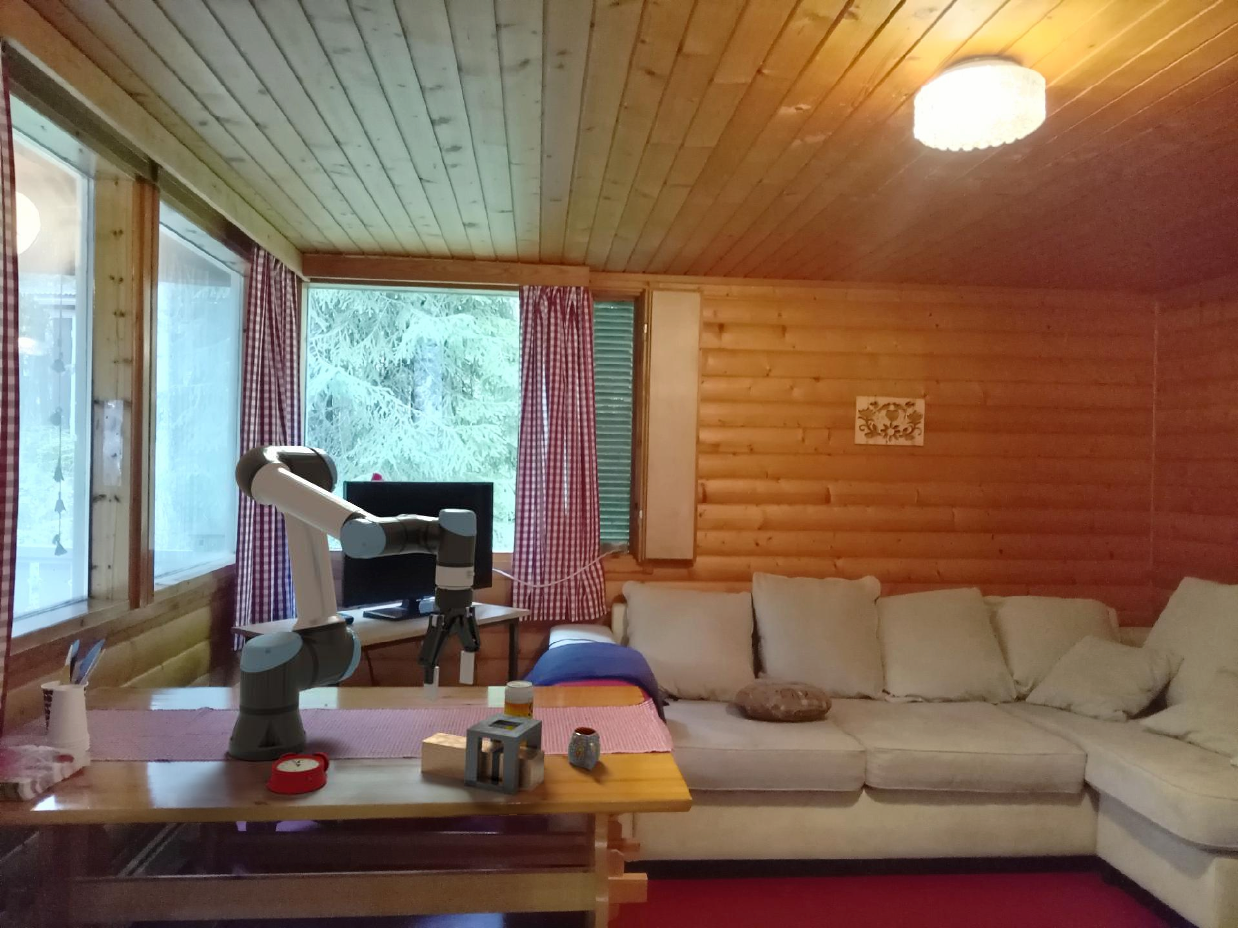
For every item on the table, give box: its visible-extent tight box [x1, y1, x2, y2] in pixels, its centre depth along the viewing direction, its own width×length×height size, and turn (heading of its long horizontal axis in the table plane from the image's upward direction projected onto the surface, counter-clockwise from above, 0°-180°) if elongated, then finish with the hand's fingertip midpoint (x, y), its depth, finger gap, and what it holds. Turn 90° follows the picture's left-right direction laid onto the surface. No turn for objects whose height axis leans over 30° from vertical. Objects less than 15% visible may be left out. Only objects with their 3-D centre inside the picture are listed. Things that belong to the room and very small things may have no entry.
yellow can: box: [503, 680, 535, 747], centre depth 181 cm, size 6×6×15 cm
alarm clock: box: [267, 751, 330, 796], centre depth 162 cm, size 10×6×15 cm
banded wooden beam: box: [420, 732, 545, 792], centre depth 168 cm, size 24×6×6 cm, turn 70°
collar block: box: [464, 712, 543, 796], centre depth 167 cm, size 10×12×11 cm
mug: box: [567, 726, 601, 771], centre depth 176 cm, size 12×7×7 cm, turn 12°
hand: (448, 691), depth 172 cm, fingers open, 13 cm apart
